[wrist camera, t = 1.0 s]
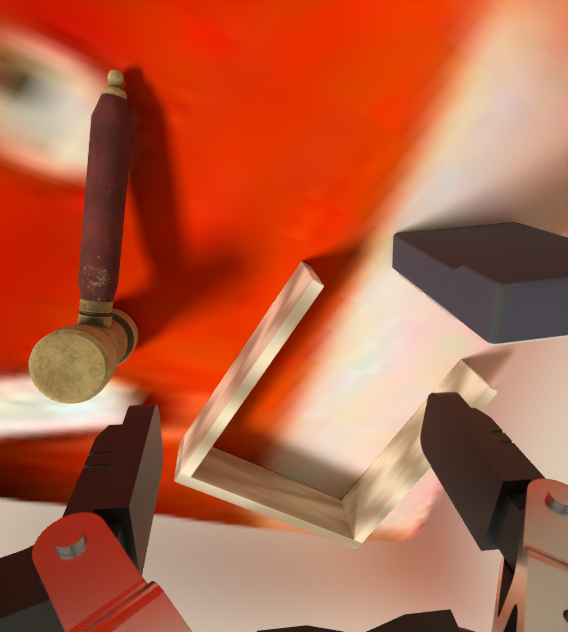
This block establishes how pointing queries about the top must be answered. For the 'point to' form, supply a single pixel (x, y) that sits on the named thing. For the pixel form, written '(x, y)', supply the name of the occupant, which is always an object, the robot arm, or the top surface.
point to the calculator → (491, 278)
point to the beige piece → (281, 492)
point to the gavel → (95, 267)
